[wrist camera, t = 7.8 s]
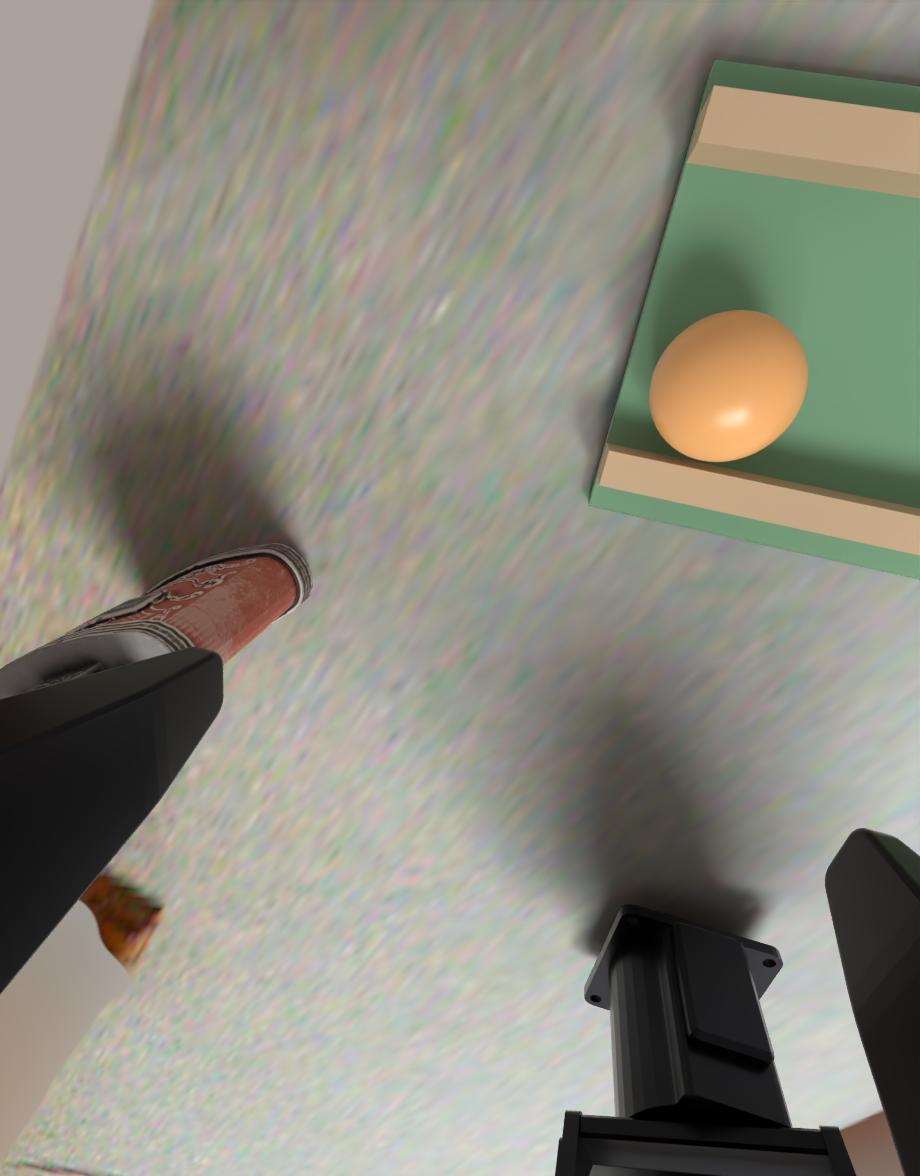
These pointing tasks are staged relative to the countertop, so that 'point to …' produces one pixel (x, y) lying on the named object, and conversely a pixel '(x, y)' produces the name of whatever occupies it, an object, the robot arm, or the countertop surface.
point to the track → (793, 316)
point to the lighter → (175, 617)
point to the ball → (728, 385)
